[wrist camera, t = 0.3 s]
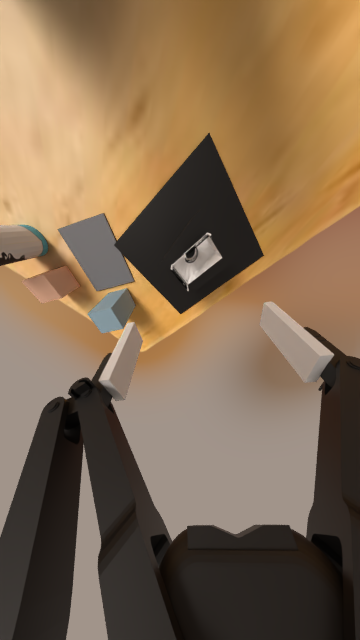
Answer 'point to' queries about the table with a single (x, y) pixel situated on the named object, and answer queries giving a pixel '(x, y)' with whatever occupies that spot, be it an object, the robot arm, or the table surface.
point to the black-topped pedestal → (192, 232)
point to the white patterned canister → (20, 243)
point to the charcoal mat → (97, 252)
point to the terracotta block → (52, 284)
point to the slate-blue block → (113, 311)
